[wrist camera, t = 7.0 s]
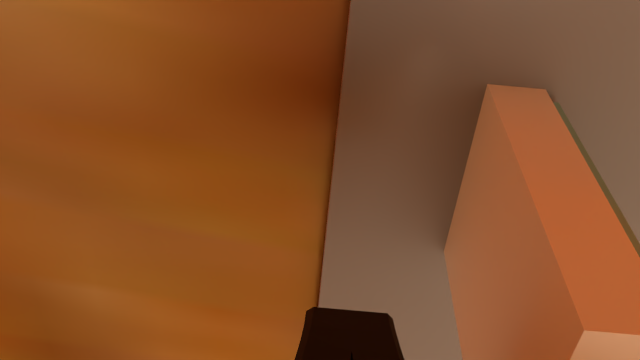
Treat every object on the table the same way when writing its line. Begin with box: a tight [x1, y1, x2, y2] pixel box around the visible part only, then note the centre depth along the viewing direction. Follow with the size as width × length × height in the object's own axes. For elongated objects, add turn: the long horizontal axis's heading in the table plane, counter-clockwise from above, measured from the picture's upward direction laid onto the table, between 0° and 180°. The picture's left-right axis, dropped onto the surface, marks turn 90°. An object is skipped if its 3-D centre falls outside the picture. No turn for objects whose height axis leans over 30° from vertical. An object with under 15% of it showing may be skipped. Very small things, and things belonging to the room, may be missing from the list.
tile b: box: [444, 84, 640, 360], centre depth 12 cm, size 5×2×7 cm, turn 175°
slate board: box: [318, 0, 640, 360], centre depth 18 cm, size 18×18×1 cm
